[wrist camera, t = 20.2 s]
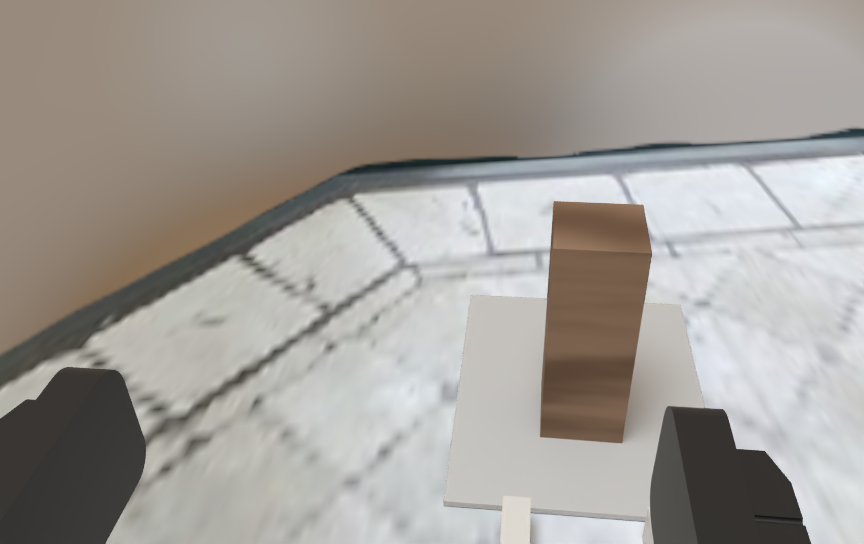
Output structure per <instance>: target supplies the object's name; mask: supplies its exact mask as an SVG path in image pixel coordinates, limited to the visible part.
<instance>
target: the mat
mask: <svg viewBox="0 0 864 544" xmlns="http://www.w3.org/2000/svg"><path fill="white" fill-rule="evenodd" d="M546 308H547V299H545V298H524V297H502V296H481V295H471V297H470V305H469V312H468V320H467V328H466V335H465V343H464V350H463V358H462V365H461V373H460V381H459V388H458V396H457V403H456V411H455V418H454V426H453V433H452V441H451V449H450V456H449V464H448V471H447V479H446V486H445V494H444V506H455V507H467V508H480V509H493V510H502V504H503V496H515V497H528V498H531V513H543V514H556V515H569V516H582V517H594V518H607V519H620V520H632V521H646V516H647V511H648V507H650V487H651V478H652V473H653V468H654V463H655V458H656V453H657V448H658V442H659V437H660V432H661V427H662V422H663V417H664V413H665V410H666V408H667V407H668V406H677V407H693V408H705V406H704V401H703V397H702V393H701V389H700V385H699V380H698V376H697V372H696V368H695V364H694V359H693V355H692V351H691V347H690V343H689V338H688V334H687V330H686V326H685V322H684V318H683V313H682V309H681V305H673V304H651V303H644V307H643V314H642V320H641V326H640V332H639V339H638V345H637V351H636V358H635V364H634V370H633V377H632V383H631V389H630V396H629V402H628V408H627V415H626V421H625V427H624V433H623V440H622V444H621V443H608V442H596V441H583V440H570V439H557V438H544V437H540V416H541V381H542V366H543V352H544V337H545V322H546Z"/></svg>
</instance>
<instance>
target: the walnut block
mask: <svg viewBox="0 0 864 544" xmlns="http://www.w3.org/2000/svg"><path fill="white" fill-rule="evenodd" d="M651 257H652V250H651V245H650V239H649V234H648V228H647V223H646V217H645V212H644V206H643V205H634V204H609V203H583V202H558V201H554V206H553V221H552V235H551V250H550V264H549V279H548V293H547V308H546V322H545V337H544V352H543V366H542V381H541V416H540V437H544V438H557V439H570V440H583V441H596V442H608V443H621V444H622V440H623V433H624V427H625V421H626V415H627V408H628V402H629V396H630V389H631V383H632V377H633V370H634V364H635V358H636V351H637V345H638V339H639V332H640V326H641V320H642V314H643V307H644V301H645V295H646V288H647V282H648V276H649V269H650V263H651Z"/></svg>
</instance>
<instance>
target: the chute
mask: <svg viewBox="0 0 864 544" xmlns="http://www.w3.org/2000/svg"><path fill="white" fill-rule="evenodd" d="M530 513H531V498H528V497H515V496H503V504H502V522H501V540H500V544H530ZM642 537H643V544H654V542H653V535H652V527H651V518H650V507H648V511H647V516H646V521H645V526H644V531H643V536H642Z"/></svg>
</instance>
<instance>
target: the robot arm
mask: <svg viewBox="0 0 864 544" xmlns="http://www.w3.org/2000/svg"><path fill="white" fill-rule="evenodd" d="M145 457H146V445H145V440H144V436H143V433H142V431H141V428H140V425H139V422H138V419H137V416H136V413H135V410H134V407H133V405H132V402H131V399H130V396H129V393H128V390H127V387H126V384H125V381H124V379H123V377H122V375H121V374H120V373H119V372H118V371H116V370H107V369H90V368H74V367H66V368H63V369H61V370H60V371H59V372H57V373H56V375H55V376H54V377H53V378H52V380H51V381H50V382H49V383H48V385H47V386H46V387H45V389H44V390H43V391H42V393H41V394H40V395H39V397H38V398H37V399H36V400H28V399H27V400H25V401H24V402H22V403H21V404H20V405H18V406H17V407H16V408H14V409H13V410H12V411H10V412H9V413H8V414H6V415H5V416H3V417H2V418H1V419H0V544H105V543H106V541H107V539H108V537H109V536H110V534H111V532H112V530H113V528H114V526H115V525H116V523H117V521H118V519H119V517H120V515H121V514H122V512H123V510H124V508H125V506H126V504H127V503H128V501H129V499H130V497H131V495H132V493H133V492H134V490H135V488H136V486H137V484H138V482H139V480H140V478H141V475H142V472H143V469H144V464H145ZM650 518H651V527H652V535H653V542H654V544H811V542H810V539H809V536H808V533H807V530H806V527H805V526H803V522H802V521H803V518H802V514H801V511H800V508H799V505H798V502H797V499H796V496H795V493H794V490H793V487H792V484H791V482H790V481H789V480H788V479H787V477H786V476H785V475H784V474H783V473H782V471H781V470H780V469H779V468H778V466H777V465H776V464H775V463H774V462H773V460H772V459H771V458H770V457H769V456H768V454H767V453H766V452H765V451H757V450H743V449H736V446H735V442H734V438H733V435H732V431H731V427H730V423H729V420H728V417H727V414H726V412H725V411H724V410H723V409H709V408H693V407H677V406H668V407H667V408H666V410H665V413H664V417H663V422H662V427H661V432H660V437H659V442H658V448H657V453H656V458H655V463H654V468H653V473H652V478H651V487H650Z"/></svg>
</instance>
